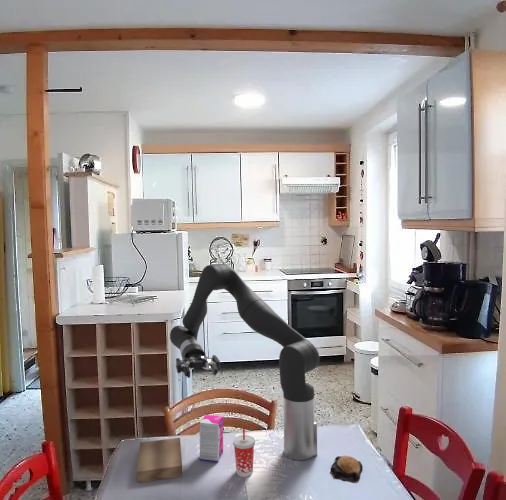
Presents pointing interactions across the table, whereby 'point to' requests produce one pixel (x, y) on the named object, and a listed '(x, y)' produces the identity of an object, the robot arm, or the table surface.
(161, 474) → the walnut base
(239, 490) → the table surface
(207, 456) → the supplement box
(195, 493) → the table surface
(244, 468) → the beverage cup
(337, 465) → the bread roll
